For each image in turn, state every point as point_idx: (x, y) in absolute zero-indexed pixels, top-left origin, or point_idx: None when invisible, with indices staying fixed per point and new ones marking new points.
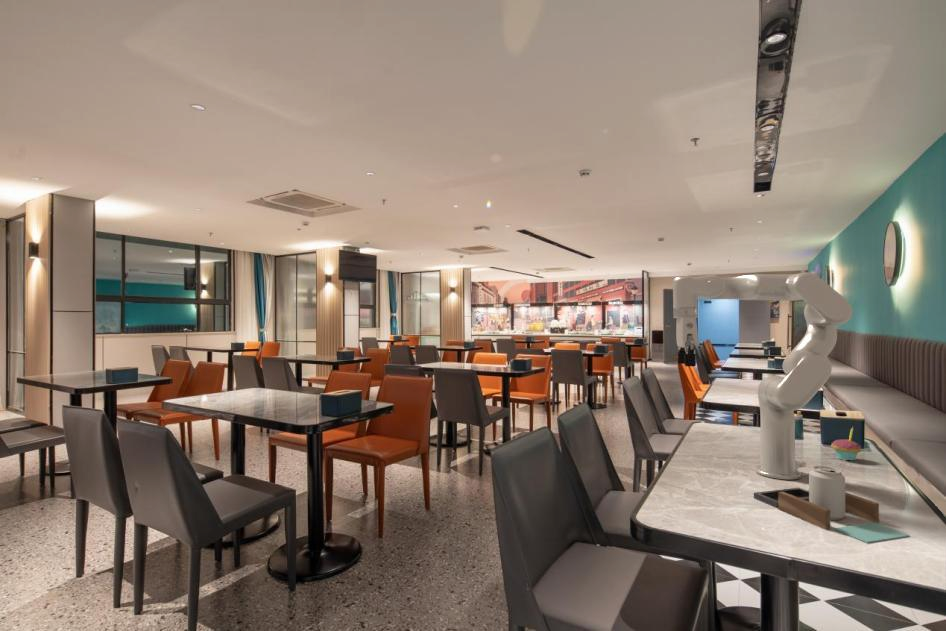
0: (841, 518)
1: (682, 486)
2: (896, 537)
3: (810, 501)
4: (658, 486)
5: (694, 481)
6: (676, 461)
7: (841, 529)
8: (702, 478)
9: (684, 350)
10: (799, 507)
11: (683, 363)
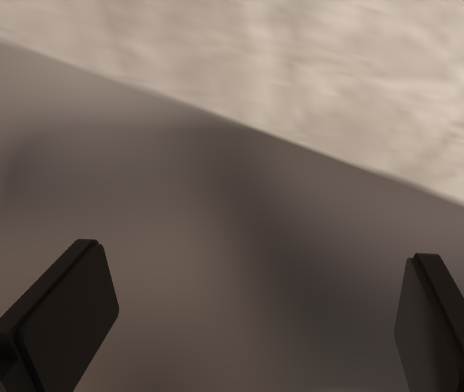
0: None
1: (438, 130)
2: None
3: None
4: (439, 187)
5: (392, 89)
6: (199, 99)
7: None
8: (361, 59)
9: (4, 389)
10: None
11: (105, 274)
